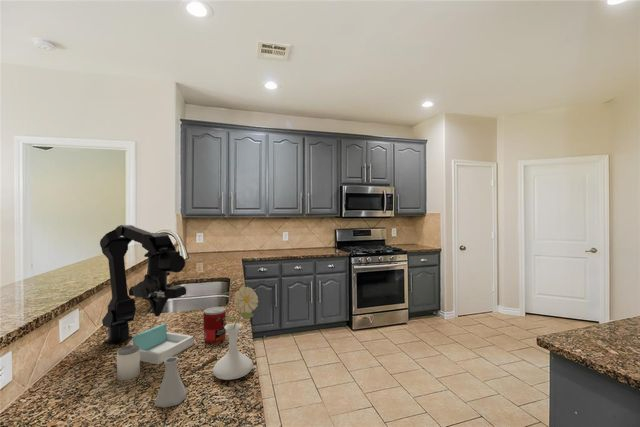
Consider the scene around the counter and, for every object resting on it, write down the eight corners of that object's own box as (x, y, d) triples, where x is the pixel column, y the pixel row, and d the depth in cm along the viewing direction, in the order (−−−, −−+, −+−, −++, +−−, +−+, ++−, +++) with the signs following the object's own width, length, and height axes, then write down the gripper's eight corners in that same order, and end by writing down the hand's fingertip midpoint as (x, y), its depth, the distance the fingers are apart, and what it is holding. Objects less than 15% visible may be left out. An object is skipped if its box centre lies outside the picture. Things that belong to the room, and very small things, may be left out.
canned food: (218, 344, 106) (218, 313, 106) (199, 342, 107) (199, 312, 108) (229, 335, 113) (229, 307, 113) (210, 334, 115) (210, 306, 115)
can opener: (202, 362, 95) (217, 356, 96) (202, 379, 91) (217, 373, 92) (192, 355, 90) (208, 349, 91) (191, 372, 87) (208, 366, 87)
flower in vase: (215, 388, 78) (215, 294, 78) (210, 369, 88) (210, 286, 89) (263, 376, 84) (263, 288, 85) (253, 359, 94) (252, 281, 95)
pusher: (132, 354, 97) (133, 336, 97) (164, 339, 108) (164, 323, 108) (135, 355, 96) (135, 336, 96) (166, 340, 108) (166, 323, 108)
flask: (162, 391, 77) (162, 353, 77) (191, 390, 78) (191, 352, 78) (148, 409, 70) (149, 367, 70) (180, 408, 70) (180, 366, 71)
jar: (112, 378, 83) (112, 351, 84) (130, 369, 89) (130, 343, 89) (126, 382, 82) (126, 354, 82) (144, 372, 87) (144, 346, 87)
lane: (118, 356, 97) (118, 347, 97) (157, 338, 111) (157, 330, 111) (158, 364, 91) (158, 354, 91) (193, 344, 106) (193, 336, 106)
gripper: (114, 273, 95) (114, 322, 95) (162, 275, 90) (162, 326, 90) (142, 268, 106) (142, 311, 105) (187, 269, 101) (187, 315, 101)
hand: (157, 316), depth 100 cm, fingers closed
